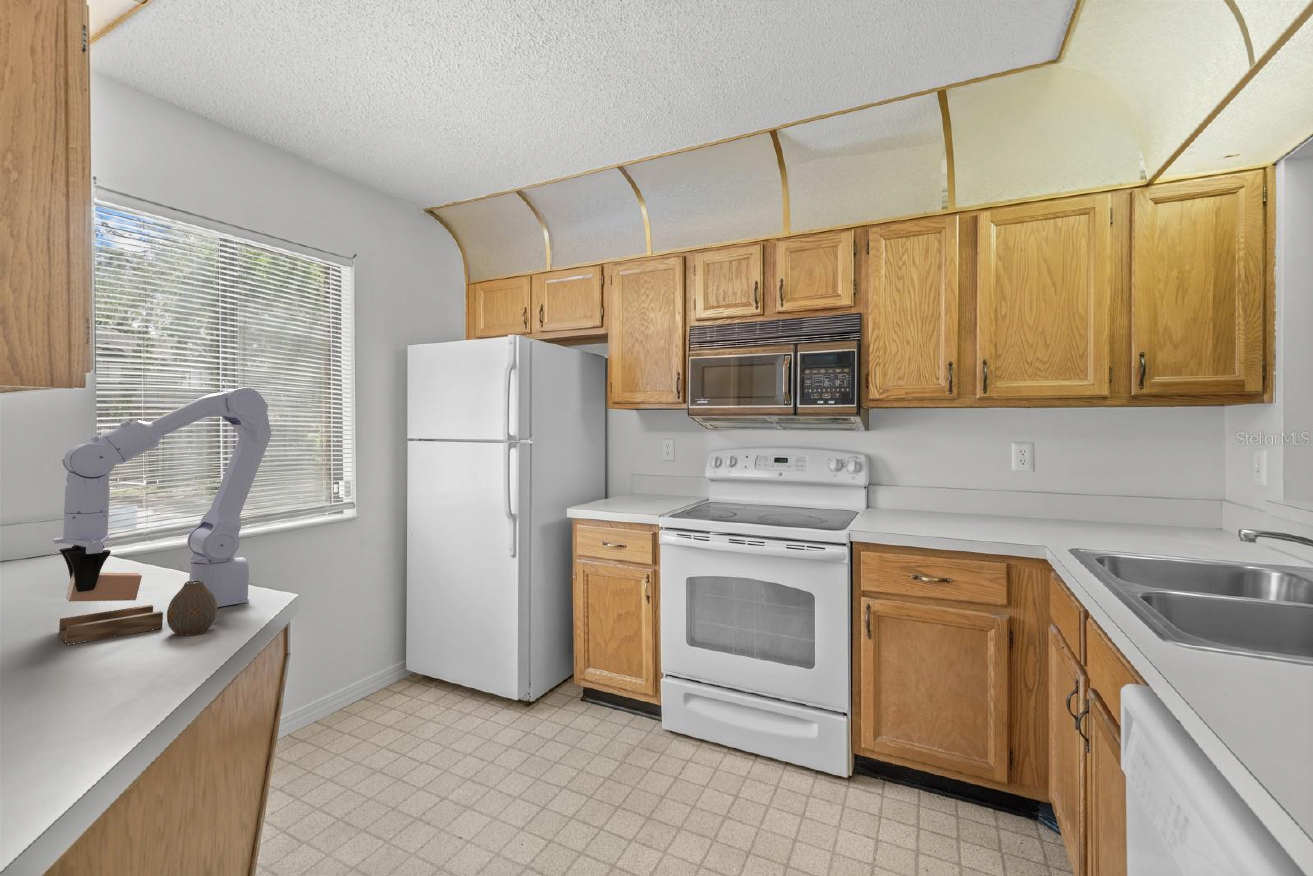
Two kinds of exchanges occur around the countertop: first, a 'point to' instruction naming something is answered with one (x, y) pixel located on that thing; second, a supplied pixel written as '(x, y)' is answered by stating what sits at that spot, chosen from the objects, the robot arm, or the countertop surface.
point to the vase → (192, 609)
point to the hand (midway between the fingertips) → (83, 589)
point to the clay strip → (108, 588)
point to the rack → (109, 624)
